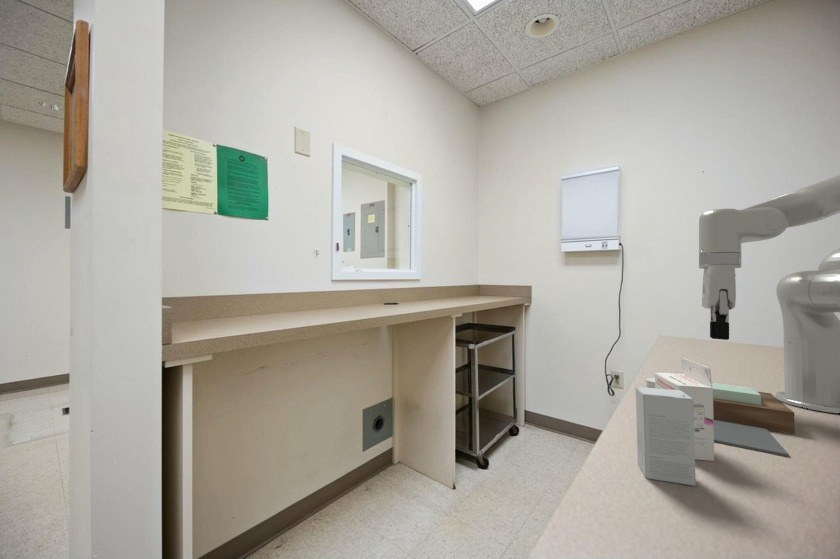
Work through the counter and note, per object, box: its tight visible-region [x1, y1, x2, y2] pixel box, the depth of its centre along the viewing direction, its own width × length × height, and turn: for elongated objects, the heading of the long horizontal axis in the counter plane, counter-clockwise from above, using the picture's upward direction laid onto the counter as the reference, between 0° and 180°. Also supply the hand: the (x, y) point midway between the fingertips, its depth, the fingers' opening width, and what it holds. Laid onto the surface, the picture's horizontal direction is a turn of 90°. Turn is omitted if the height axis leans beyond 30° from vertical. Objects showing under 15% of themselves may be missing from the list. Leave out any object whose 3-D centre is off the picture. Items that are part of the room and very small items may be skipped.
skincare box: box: [635, 386, 697, 487], centre depth 48 cm, size 6×4×12 cm
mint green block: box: [712, 382, 761, 405], centre depth 70 cm, size 6×8×2 cm
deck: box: [713, 391, 796, 435], centre depth 72 cm, size 14×16×4 cm
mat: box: [713, 420, 790, 458], centre depth 62 cm, size 12×13×1 cm
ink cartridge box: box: [654, 357, 715, 462], centre depth 56 cm, size 9×5×15 cm, turn 168°
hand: (719, 338), depth 78 cm, fingers closed
